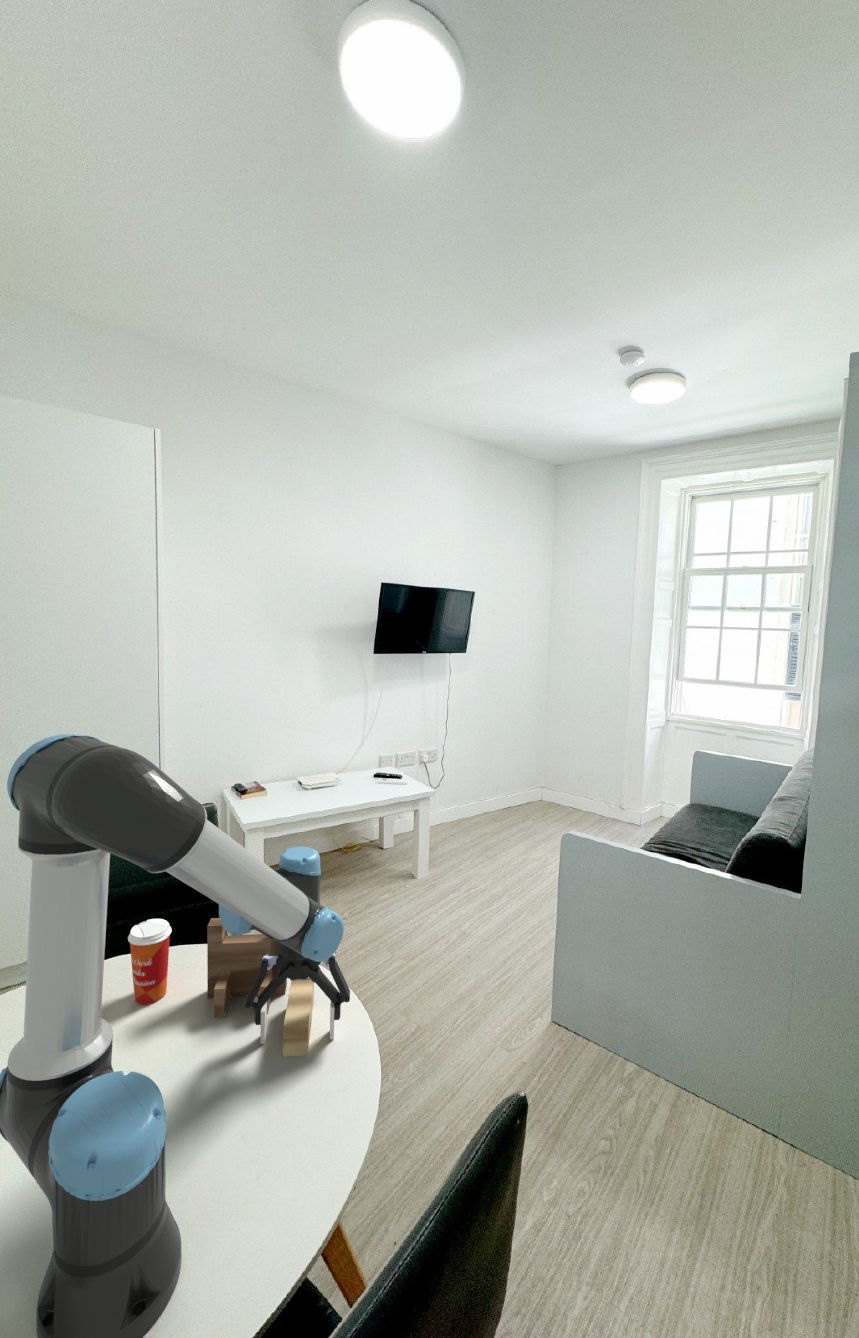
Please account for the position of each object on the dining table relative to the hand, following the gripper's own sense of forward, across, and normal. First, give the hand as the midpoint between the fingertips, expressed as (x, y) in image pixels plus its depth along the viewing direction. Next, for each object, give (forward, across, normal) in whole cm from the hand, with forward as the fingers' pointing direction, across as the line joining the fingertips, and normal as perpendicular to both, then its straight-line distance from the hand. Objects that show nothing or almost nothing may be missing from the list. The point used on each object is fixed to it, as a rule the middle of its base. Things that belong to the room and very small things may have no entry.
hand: (298, 1036), depth 109 cm
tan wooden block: (0, 0, -2) cm, 2 cm away
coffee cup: (0, +32, -15) cm, 35 cm away
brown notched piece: (0, +12, -11) cm, 17 cm away
